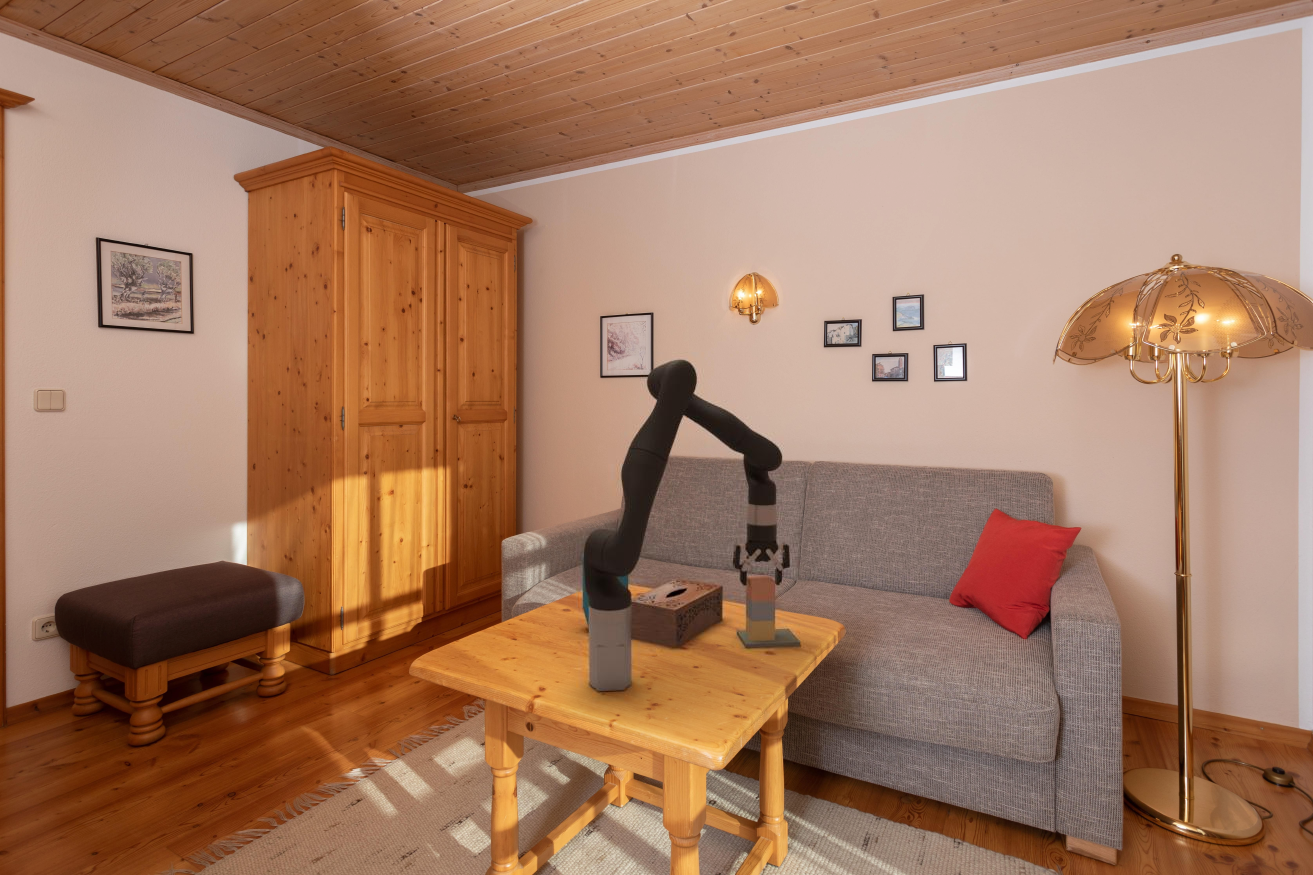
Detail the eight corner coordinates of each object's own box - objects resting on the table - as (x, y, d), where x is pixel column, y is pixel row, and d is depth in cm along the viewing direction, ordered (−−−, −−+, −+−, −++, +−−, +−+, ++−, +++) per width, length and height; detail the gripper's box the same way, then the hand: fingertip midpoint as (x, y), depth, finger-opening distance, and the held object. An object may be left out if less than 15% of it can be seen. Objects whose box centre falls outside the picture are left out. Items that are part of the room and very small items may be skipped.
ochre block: (774, 640, 171) (775, 620, 171) (751, 640, 171) (751, 621, 170) (768, 631, 177) (768, 612, 177) (745, 632, 177) (746, 613, 176)
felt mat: (800, 645, 170) (800, 641, 170) (745, 648, 169) (745, 644, 169) (788, 632, 180) (788, 628, 180) (736, 634, 179) (736, 630, 178)
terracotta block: (774, 600, 171) (775, 581, 170) (751, 601, 170) (751, 581, 170) (768, 594, 177) (768, 575, 176) (745, 594, 176) (746, 575, 176)
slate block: (775, 620, 171) (775, 600, 171) (751, 621, 170) (751, 601, 170) (768, 612, 177) (768, 594, 177) (745, 613, 176) (746, 594, 176)
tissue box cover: (677, 612, 198) (677, 578, 197) (722, 620, 190) (722, 585, 189) (627, 638, 176) (627, 600, 175) (675, 649, 168) (675, 609, 168)
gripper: (737, 524, 168) (736, 589, 169) (793, 523, 169) (792, 588, 170) (730, 519, 175) (730, 581, 176) (785, 518, 177) (784, 580, 178)
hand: (760, 584), depth 173 cm, fingers open, 8 cm apart
